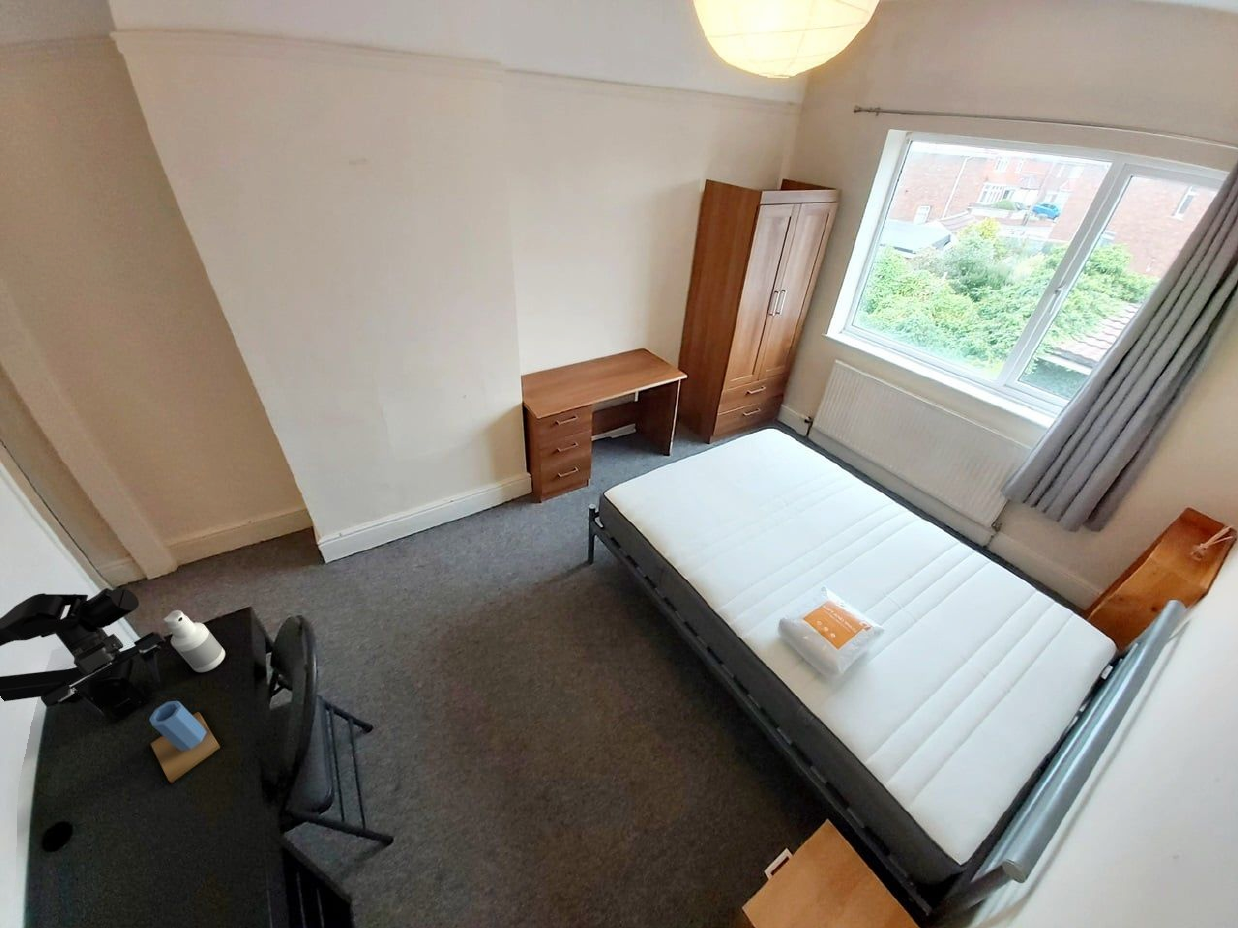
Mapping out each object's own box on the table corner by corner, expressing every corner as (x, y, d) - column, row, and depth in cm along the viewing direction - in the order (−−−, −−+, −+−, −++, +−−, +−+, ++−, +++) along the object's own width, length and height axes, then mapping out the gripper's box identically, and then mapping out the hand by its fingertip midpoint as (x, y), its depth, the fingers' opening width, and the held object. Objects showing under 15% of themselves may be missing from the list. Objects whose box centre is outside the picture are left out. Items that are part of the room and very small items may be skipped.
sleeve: (174, 740, 109) (146, 714, 102) (200, 722, 112) (175, 696, 105) (182, 755, 106) (154, 729, 100) (209, 736, 109) (183, 710, 103)
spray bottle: (209, 675, 122) (171, 630, 112) (186, 670, 124) (146, 625, 113) (232, 651, 128) (197, 606, 117) (210, 646, 129) (173, 601, 119)
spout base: (153, 746, 109) (142, 736, 106) (200, 714, 115) (191, 704, 112) (171, 783, 103) (160, 774, 100) (220, 747, 109) (211, 737, 106)
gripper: (8, 672, 91) (62, 739, 92) (135, 606, 103) (181, 666, 104) (29, 672, 99) (78, 734, 100) (143, 611, 111) (186, 667, 112)
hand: (132, 699), depth 104 cm, fingers open, 9 cm apart
